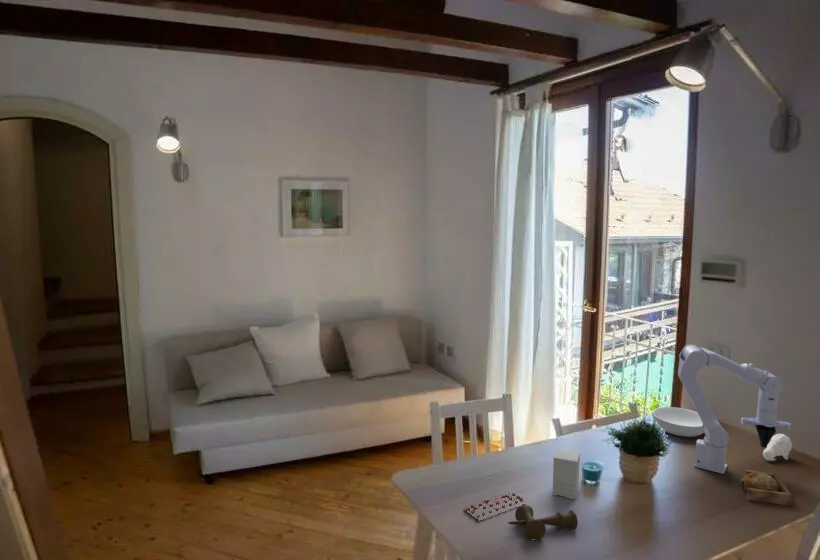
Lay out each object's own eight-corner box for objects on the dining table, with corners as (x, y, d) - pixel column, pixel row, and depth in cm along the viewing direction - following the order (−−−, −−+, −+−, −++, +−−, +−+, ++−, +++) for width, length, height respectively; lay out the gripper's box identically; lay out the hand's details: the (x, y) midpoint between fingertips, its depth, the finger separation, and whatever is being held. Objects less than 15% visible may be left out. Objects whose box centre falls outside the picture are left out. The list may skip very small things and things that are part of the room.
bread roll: (757, 509, 176) (769, 493, 172) (731, 483, 184) (743, 466, 180) (778, 503, 179) (791, 487, 175) (752, 477, 187) (764, 461, 183)
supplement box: (579, 489, 180) (581, 452, 178) (575, 500, 173) (577, 461, 172) (555, 484, 183) (557, 448, 181) (551, 495, 176) (553, 457, 175)
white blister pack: (527, 505, 171) (527, 499, 171) (479, 523, 161) (479, 517, 161) (511, 494, 177) (511, 489, 177) (463, 511, 167) (464, 505, 167)
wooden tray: (747, 499, 174) (748, 489, 174) (734, 478, 188) (735, 468, 188) (790, 505, 171) (791, 495, 171) (774, 483, 185) (775, 473, 185)
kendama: (582, 538, 154) (513, 543, 151) (567, 520, 164) (501, 524, 160) (583, 518, 153) (514, 522, 150) (568, 501, 163) (502, 504, 160)
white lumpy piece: (794, 435, 203) (775, 445, 197) (793, 457, 204) (774, 467, 199) (776, 429, 208) (757, 438, 203) (775, 450, 210) (756, 460, 204)
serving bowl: (659, 440, 219) (660, 423, 218) (646, 420, 239) (647, 405, 238) (716, 444, 216) (717, 427, 215) (697, 424, 236) (699, 408, 235)
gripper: (746, 410, 188) (743, 448, 190) (795, 415, 184) (791, 454, 186) (740, 403, 195) (737, 440, 197) (788, 407, 191) (784, 445, 193)
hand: (763, 446), depth 192 cm, fingers closed
